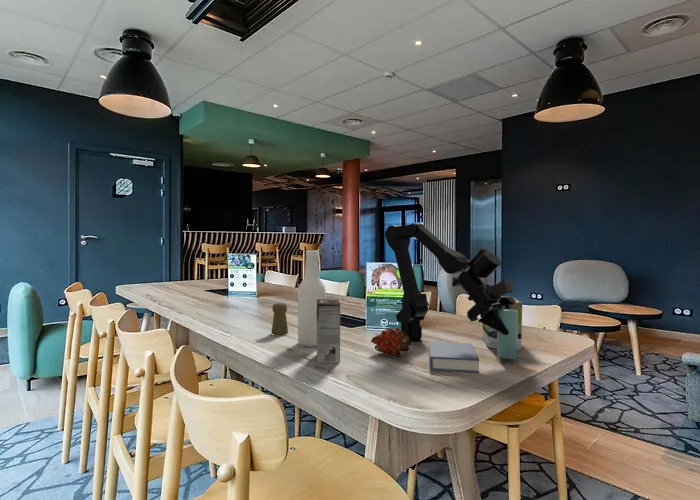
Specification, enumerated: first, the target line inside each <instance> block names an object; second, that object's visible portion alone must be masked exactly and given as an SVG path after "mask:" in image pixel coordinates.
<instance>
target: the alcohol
mask: <svg viewBox="0 0 700 500" xmlns="http://www.w3.org/2000/svg"><path fill="white" fill-rule="evenodd" d="M305 253H306V254H305V268H304V277H303V280H302V281H301V282H300V284H299V286H298V290H297V291H298V292H297V300H298V301H297V302H298V303H297V329H298V330H297V342H298V343H299V345H300V346H301V345H303V347H306V346H316V347H317V299H327V295H326V294H327V291H326V286H325V285H326V284H324V282H323V281H322V280H321V277H320V270H319V269H320V268H319V267H320V266H319V251H318V250H316V249H314V250H306V251H305Z"/></svg>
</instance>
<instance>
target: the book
mask: <svg viewBox="0 0 700 500" xmlns="http://www.w3.org/2000/svg"><path fill="white" fill-rule="evenodd" d="M428 342H429V345H428V347H429V348H428V351H429V353H428V354H429V357H428V358H429V370H430V371H440V372H442V371H445V372H459V373H460V372H461V373H462V372H463V373H475V374H479V373H480V358H479V356H478V353H477V352H476V350H475V348H474V345H473V343H470V342H469V343H467V342H452V341H450V342H446V341H428Z"/></svg>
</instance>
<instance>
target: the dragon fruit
mask: <svg viewBox="0 0 700 500" xmlns="http://www.w3.org/2000/svg"><path fill="white" fill-rule="evenodd" d="M372 343H373V344H374V345H375V346H374V349H375V350H376V351H377V352H379V353H383V354H384V353H386V354H385V355H386V356H387V357H391V356H392V355H394V356H395V357H398V356H399V357H401V355H402V353H408V352H409V351H410V350H411V348H410V346H411V344H412V341H410V339H409V337H408V336H407V335H406V333H404V332H402V331H401V328H399V327H395V329H393V328H390V327H386V328H385V330H382V331H381V333H380V334H377V335H376V336H374V337H372V338H371V339H370V344H372Z"/></svg>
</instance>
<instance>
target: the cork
mask: <svg viewBox="0 0 700 500" xmlns="http://www.w3.org/2000/svg"><path fill="white" fill-rule="evenodd" d="M271 309H272V312H273V318H272V326H271V333H272V334H274V335H284V334H287V333H288V334H289V330H288V329H289V328H288V321H287V311H288V305H287V304H286V303H284V302H276V303H274V304H273V305H272V308H271Z"/></svg>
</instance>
